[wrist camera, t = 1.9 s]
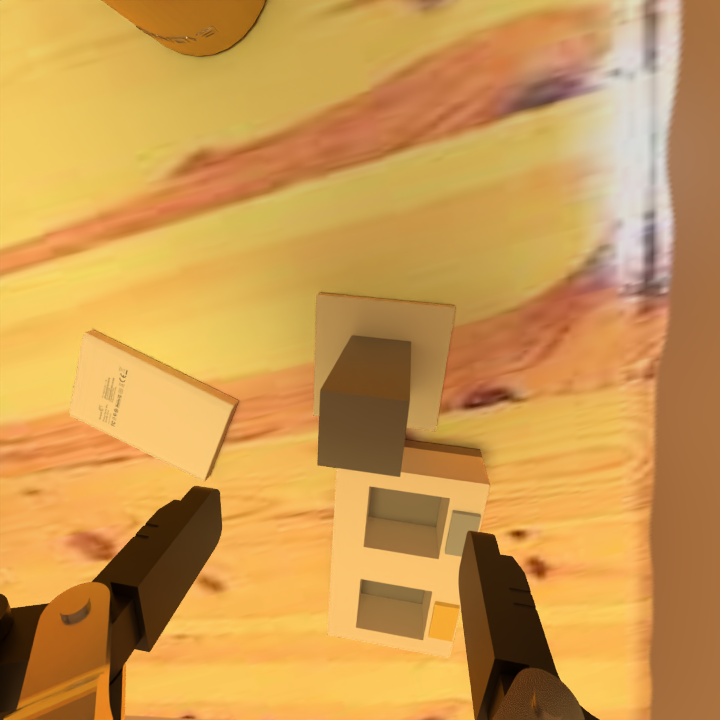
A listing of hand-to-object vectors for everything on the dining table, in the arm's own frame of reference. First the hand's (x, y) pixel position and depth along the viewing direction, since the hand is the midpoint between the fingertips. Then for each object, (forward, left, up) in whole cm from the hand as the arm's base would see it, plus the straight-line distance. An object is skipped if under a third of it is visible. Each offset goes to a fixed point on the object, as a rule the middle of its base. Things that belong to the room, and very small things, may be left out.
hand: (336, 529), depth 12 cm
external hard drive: (+6, -18, -16) cm, 25 cm away
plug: (0, 0, -15) cm, 15 cm away
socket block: (+14, +3, -15) cm, 21 cm away
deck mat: (0, 0, -15) cm, 15 cm away
